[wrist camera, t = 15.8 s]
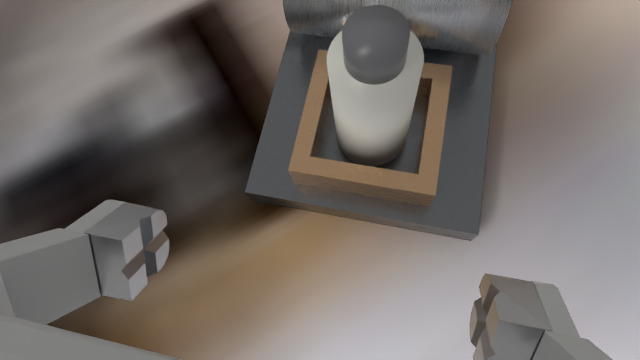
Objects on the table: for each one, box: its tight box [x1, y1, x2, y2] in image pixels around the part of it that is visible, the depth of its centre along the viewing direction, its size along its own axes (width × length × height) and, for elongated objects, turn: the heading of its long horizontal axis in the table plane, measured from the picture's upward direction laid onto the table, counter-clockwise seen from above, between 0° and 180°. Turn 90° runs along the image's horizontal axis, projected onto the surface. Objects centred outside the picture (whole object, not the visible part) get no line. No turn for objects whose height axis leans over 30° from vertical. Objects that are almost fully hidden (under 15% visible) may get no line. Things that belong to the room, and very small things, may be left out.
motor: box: [245, 0, 513, 241], centre depth 28 cm, size 18×22×11 cm
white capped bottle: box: [327, 5, 424, 166], centre depth 25 cm, size 5×5×11 cm
